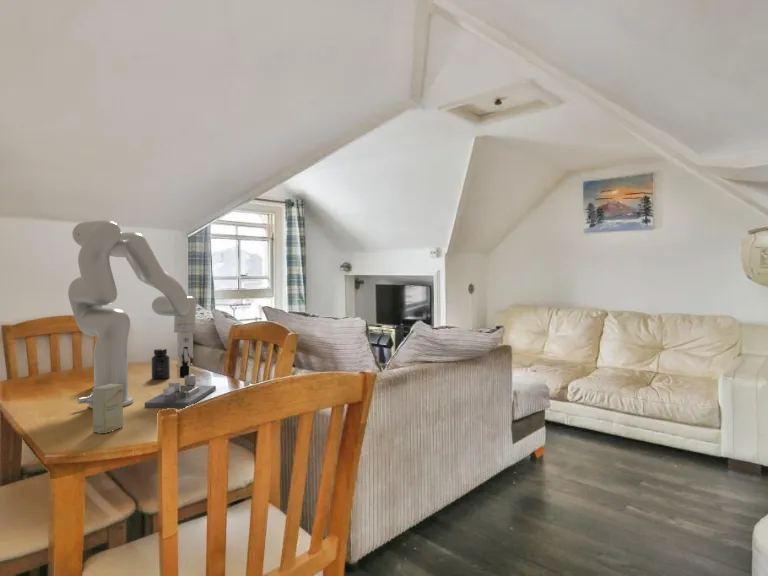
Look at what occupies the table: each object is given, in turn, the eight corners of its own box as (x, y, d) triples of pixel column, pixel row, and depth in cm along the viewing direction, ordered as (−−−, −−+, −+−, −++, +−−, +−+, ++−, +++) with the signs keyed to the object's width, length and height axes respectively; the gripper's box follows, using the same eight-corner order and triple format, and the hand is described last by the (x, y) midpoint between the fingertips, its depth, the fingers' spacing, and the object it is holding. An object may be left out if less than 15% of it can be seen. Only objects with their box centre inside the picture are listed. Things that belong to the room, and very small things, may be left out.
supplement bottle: (173, 376, 198) (172, 348, 198) (164, 380, 191) (163, 350, 191) (157, 376, 199) (157, 348, 199) (148, 379, 192) (147, 350, 192)
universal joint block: (176, 378, 178) (177, 360, 178) (175, 376, 182) (176, 358, 182) (193, 377, 181) (193, 359, 181) (191, 375, 185) (192, 357, 185)
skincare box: (105, 434, 126) (104, 389, 125) (91, 433, 127) (91, 388, 127) (124, 427, 132) (123, 384, 131) (111, 425, 133) (110, 383, 133)
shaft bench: (187, 407, 152) (187, 387, 151) (144, 407, 152) (144, 387, 152) (215, 389, 176) (215, 372, 175) (178, 389, 176) (178, 372, 176)
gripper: (198, 329, 176) (196, 378, 176) (192, 326, 191) (191, 371, 191) (176, 330, 173) (175, 380, 172) (172, 326, 187) (171, 373, 187)
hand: (183, 375), depth 181 cm, fingers closed on universal joint block, 4 cm apart
